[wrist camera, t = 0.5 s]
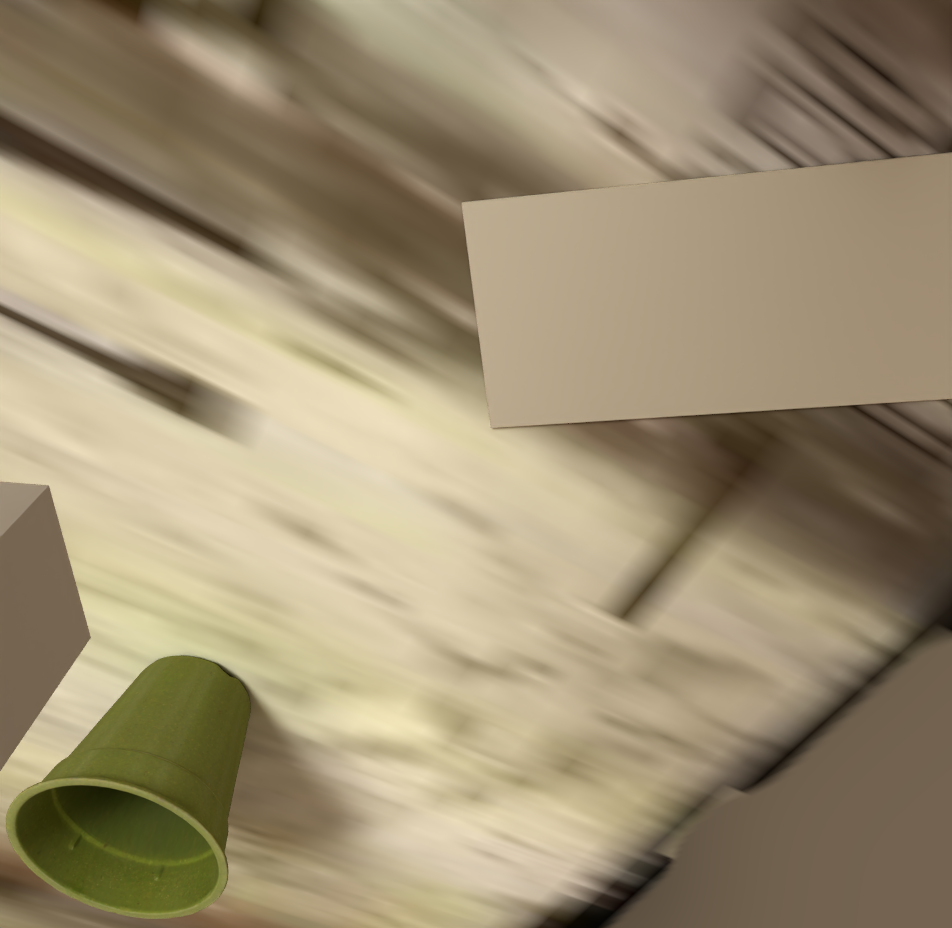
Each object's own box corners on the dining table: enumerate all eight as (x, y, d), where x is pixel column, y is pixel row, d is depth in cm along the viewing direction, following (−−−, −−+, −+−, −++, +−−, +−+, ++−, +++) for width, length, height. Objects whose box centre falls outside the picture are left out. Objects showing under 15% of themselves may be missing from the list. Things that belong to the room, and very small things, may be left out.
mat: (462, 202, 37) (461, 203, 37) (1067, 140, 34) (1069, 141, 33) (491, 426, 43) (490, 427, 42) (1013, 393, 39) (1015, 394, 39)
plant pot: (67, 651, 54) (-43, 804, 44) (225, 604, 50) (143, 759, 41) (171, 773, 59) (93, 934, 49) (320, 738, 56) (268, 903, 46)
